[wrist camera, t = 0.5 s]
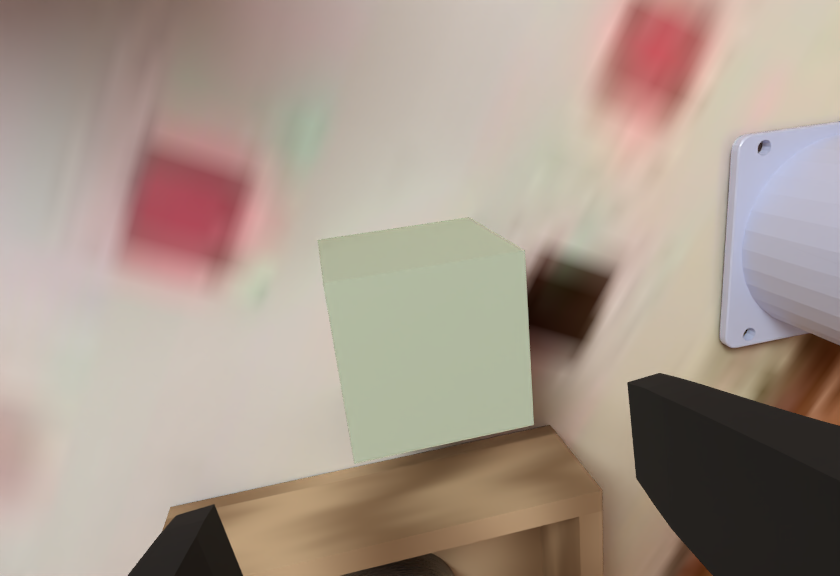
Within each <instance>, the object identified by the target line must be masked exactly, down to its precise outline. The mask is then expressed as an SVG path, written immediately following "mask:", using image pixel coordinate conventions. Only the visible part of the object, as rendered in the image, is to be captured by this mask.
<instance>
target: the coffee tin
mask: <svg viewBox="0 0 840 576" xmlns="http://www.w3.org/2000/svg"><path fill="white" fill-rule="evenodd" d="M341 576H455V575H454V573H453V571H452V570H451V568H450V567H449V566H448V565H447V563H446V562H444V561H443V560H442V559H441V558H439V557H438V556H436V555H434V554H432V553H429V554H425V555H421V556H417V557H413V558H409V559H405V560H401V561H397V562H393V563H389V564H385V565H381V566H377V567H372V568H368V569H364V570H360V571H356V572H352V573H348V574H344V575H341Z"/></svg>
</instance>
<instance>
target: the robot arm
mask: <svg viewBox="0 0 840 576" xmlns="http://www.w3.org/2000/svg"><path fill="white" fill-rule="evenodd" d="M761 142H762V149H761V151H760V152H759V153H758V146H759V144H760V143H761ZM746 329H748V330H747V333H746V334H745V335H744V336H743V334H744V332H745V331H746ZM807 333H811V334H814V335H816V336H819V337H821V338H823V339H826V340H828V341H830V342H833V343H835V344H838V345H840V121H838V122H831V123H824V124H816V125H809V126H802V127H794V128H787V129H780V130H773V131H765V132H758V133H751V134H745V135H742V136H740V137H739V138H737V139H736V140H735V142H734V144H733V146H732V150H731V164H730V180H729V196H728V211H727V227H726V243H725V259H724V275H723V290H722V306H721V322H720V340H721V342H722V343H723V344H725V345H727V346H729V347H731V348H739V347H743V346H748V345H753V344H758V343H763V342H768V341H773V340H778V339H782V338H787V337H792V336H797V335H802V334H807ZM628 393H629V404H630V415H631V426H632V437H633V448H634V458H635V469H636V478H637V480H638V481H639V483H640V484H641V486H642V487H643V489H644V490H645V492H646V493H647V495H648V496H649V498H650V499H651V501H652V502H653V504H654V505H655V506H656V508H657V509H658V511H659V512H660V513H661V515H662V516H663V518H664V519H665V520H666V522H667V523H668V525H669V526H670V527H671V529H672V530H673V531H674V532H675V533H676V534H677V536H678V537H679V538H680V539H681V540H682V541H683V542H684V544H685V545H686V546H687V547H688V548H689V549H690V550H691V551H692V553H693V554H694V555H695V556H696V557H697V558H698V559H699V560H700V562H701V563H702V564H703V565H704V566H705V567H706V568H707V569H708V571H709V572H710V573H711V574H712V575H713V576H840V426H838V425H834V424H830V423H827V422H823V421H820V420H816V419H813V418H809V417H806V416H802V415H799V414H796V413H792V412H789V411H785V410H782V409H779V408H776V407H772V406H769V405H766V404H762V403H759V402H756V401H753V400H750V399H746V398H743V397H740V396H737V395H734V394H730V393H727V392H724V391H721V390H718V389H715V388H711V387H708V386H705V385H702V384H698V383H695V382H692V381H688V380H685V379H681V378H678V377H674V376H670V375H666V374H661V373H658V374H655V375H651V376H648V377H644V378H641V379H638V380H634V381H631V382H628ZM128 576H243V574H242V571H241V569H240V566H239V564H238V561H237V559H236V557H235V554H234V552H233V549H232V547H231V544H230V542H229V539H228V537H227V534H226V532H225V529H224V527H223V524H222V522H221V519H220V517H219V514H218V512H217V509H216V507H215V504H213V505H209V506H206V507H203V508H199V509H196V510H192V511H189V512H186V513H182V514H179V515H176V516H175V517H174V518H173V519H172V521H171V522H170V523H169V524H168V525H167V526H166V528H165V529H164V530H163V531H162V532H161V534H160V535H159V536H158V537H157V539H156V540H155V541H154V543H153V544H152V545H151V546H150V548H149V549H148V550H147V551H146V553H145V554H144V555H143V557H142V558H141V559H140V560H139V562H138V563H137V564H136V566H135V567H134V568H133V569H132V571H131V572H130V573H129V574H128Z"/></svg>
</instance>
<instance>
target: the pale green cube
mask: <svg viewBox="0 0 840 576" xmlns="http://www.w3.org/2000/svg"><path fill="white" fill-rule="evenodd" d="M318 246H319V254H320V262H321V270H322V278H323V285H324V291H325V297H326V303H327V308H328V314H329V320H330V326H331V331H332V337H333V343H334V349H335V355H336V360H337V366H338V372H339V378H340V383H341V389H342V395H343V401H344V407H345V412H346V418H347V424H348V430H349V435H350V441H351V447H352V453H353V459H354V464H356V463H360V462H365V461H369V460H374V459H379V458H383V457H388V456H393V455H397V454H402V453H407V452H411V451H416V450H420V449H425V448H430V447H434V446H439V445H444V444H448V443H453V442H457V441H462V440H467V439H471V438H476V437H481V436H485V435H490V434H495V433H499V432H504V431H508V430H513V429H518V428H522V427H527V426H532V425H534V418H533V399H532V379H531V360H530V341H529V321H528V302H527V283H526V264H525V250H523V249H521V248H520V247H518V246H516V245H515V244H513V243H511V242H510V241H508V240H506V239H505V238H503V237H501V236H500V235H498V234H496V233H494V232H493V231H491V230H489V229H488V228H486V227H484V226H483V225H481V224H479V223H478V222H476V221H474V220H473V219H471V218H469V217H468V218H461V219H454V220H448V221H441V222H434V223H428V224H421V225H415V226H408V227H401V228H395V229H388V230H381V231H375V232H368V233H361V234H355V235H348V236H341V237H335V238H328V239H321V240H318Z"/></svg>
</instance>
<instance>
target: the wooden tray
mask: <svg viewBox="0 0 840 576" xmlns="http://www.w3.org/2000/svg"><path fill="white" fill-rule="evenodd" d="M213 504H215V507H216V509H217V512H218V514H219V517H220V519H221V522H222V524H223V527H224V529H225V532H226V534H227V537H228V539H229V542H230V544H231V547H232V549H233V552H234V554H235V557H236V559H237V561H238V564H239V566H240V569H241V571H242V574H243V576H341V575H344V574H348V573H352V572H356V571H360V570H364V569H368V568H372V567H377V566H381V565H385V564H389V563H393V562H397V561H401V560H405V559H409V558H413V557H417V556H421V555H425V554H429V553H432V554H434V555H436V556H438V557H439V558H441V559H442V560H443V561H444V562H446V563H447V565H448V566H449V567H450V568H451V570H452V571H453V573H454V575H455V576H603V512H602V489H601V488H600V487H599V486H598V484H597V483H596V482H595V481H594V479H593V478H592V477H591V476H590V474H589V473H588V472H587V471H586V469H585V468H584V467H583V466H582V464H581V463H580V462H579V461H578V459H577V458H576V457H575V456H574V455H573V453H572V452H571V451H570V450H569V448H568V447H567V446H566V445H565V443H564V442H563V441H562V440H561V438H560V437H559V436H558V435H557V433H556V432H555V431H554V430H553V429H552V427H551V426H550V425H548V426H543V427H538V428H534V429H529V430H525V431H520V432H515V433H511V434H506V435H502V436H497V437H492V438H488V439H483V440H478V441H474V442H469V443H465V444H460V445H455V446H451V447H446V448H442V449H437V450H432V451H428V452H423V453H418V454H414V455H409V456H405V457H400V458H395V459H391V460H386V461H382V462H377V463H372V464H368V465H363V466H358V467H354V468H349V469H345V470H340V471H335V472H331V473H326V474H322V475H317V476H312V477H308V478H303V479H298V480H294V481H289V482H285V483H280V484H275V485H271V486H266V487H262V488H257V489H252V490H248V491H243V492H238V493H234V494H229V495H225V496H220V497H215V498H211V499H206V500H202V501H197V502H192V503H188V504H183V505H178V506H174V507H170V510H169V513H168V516H167V519H166V522H165V525H164V528H163V530H164V529H165V528H166V526H167V525H168V524H169V523H170V522H171V521H172V519H173V518H174V517H175V516H176V515H179V514H182V513H186V512H189V511H192V510H196V509H199V508H203V507H206V506H209V505H213Z"/></svg>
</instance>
